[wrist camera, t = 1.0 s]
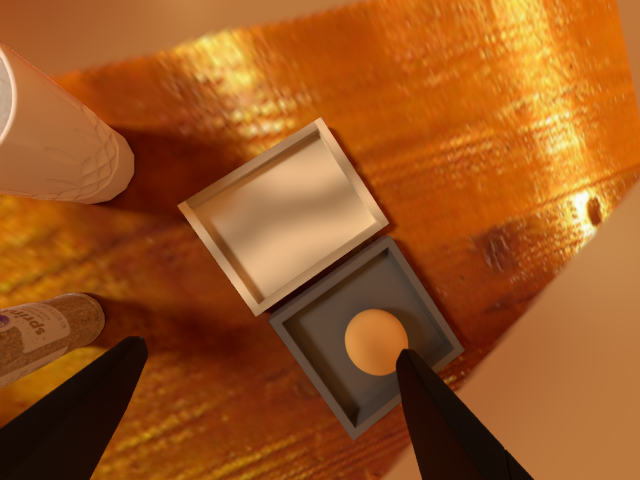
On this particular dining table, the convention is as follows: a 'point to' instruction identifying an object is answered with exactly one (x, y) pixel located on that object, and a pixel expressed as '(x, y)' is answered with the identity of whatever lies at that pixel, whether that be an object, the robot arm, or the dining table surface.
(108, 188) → the white cup
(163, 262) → the dining table surface
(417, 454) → the robot arm
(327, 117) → the dining table surface
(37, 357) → the sprinkles bottle
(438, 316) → the dish
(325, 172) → the tray
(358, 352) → the ball
